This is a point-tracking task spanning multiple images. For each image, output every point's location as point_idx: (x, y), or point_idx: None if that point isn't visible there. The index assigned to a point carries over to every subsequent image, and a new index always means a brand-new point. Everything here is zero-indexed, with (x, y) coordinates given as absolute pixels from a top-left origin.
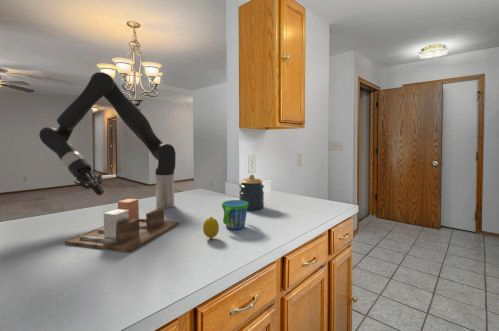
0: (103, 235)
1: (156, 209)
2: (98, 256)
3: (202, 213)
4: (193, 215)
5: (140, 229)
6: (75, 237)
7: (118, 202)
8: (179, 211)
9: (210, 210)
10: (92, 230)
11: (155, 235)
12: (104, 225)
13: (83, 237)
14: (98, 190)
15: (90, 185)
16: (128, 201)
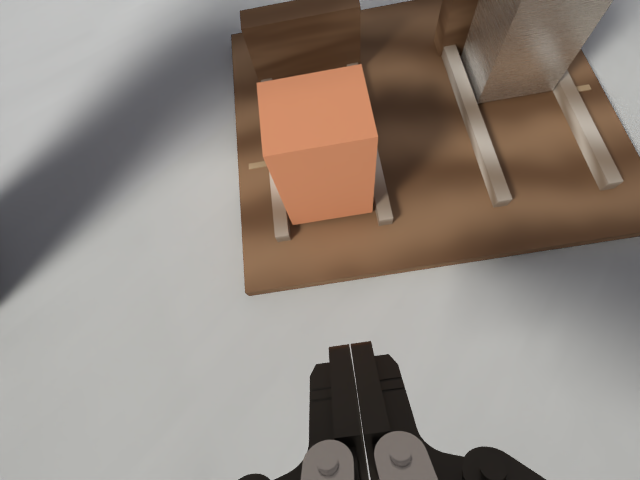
0: (517, 145)
1: (273, 21)
2: (623, 32)
3: (63, 60)
4: (101, 71)
5: (378, 83)
6: (617, 227)
7: (377, 134)
8: (43, 160)
9: (9, 61)
10: (506, 250)
11: (402, 2)
12: (587, 35)
13: (612, 163)
14: (381, 376)
15: (493, 453)
16: (337, 85)
